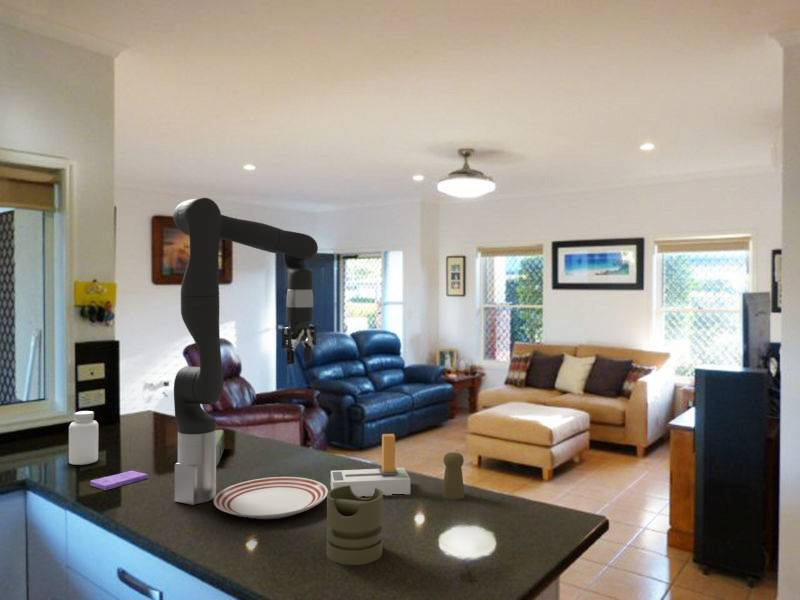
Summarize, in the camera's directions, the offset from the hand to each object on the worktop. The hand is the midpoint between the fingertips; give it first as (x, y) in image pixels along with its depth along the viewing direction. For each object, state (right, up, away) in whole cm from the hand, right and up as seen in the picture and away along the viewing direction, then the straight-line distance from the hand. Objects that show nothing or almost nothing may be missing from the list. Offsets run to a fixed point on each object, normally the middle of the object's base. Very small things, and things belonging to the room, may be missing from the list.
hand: (299, 362), depth 176 cm
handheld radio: (-28, -32, +15) cm, 45 cm away
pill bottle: (-67, -31, +11) cm, 75 cm away
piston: (+20, -34, -51) cm, 64 cm away
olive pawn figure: (+43, -33, -16) cm, 56 cm away
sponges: (-48, -33, -8) cm, 58 cm away
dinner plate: (-3, -33, -24) cm, 41 cm away
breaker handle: (+26, -28, -12) cm, 40 cm away
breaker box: (+21, -33, -12) cm, 41 cm away
